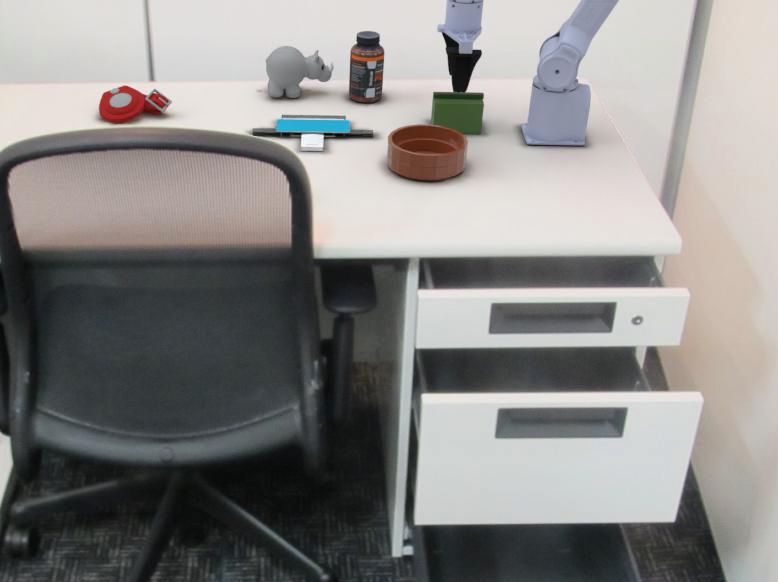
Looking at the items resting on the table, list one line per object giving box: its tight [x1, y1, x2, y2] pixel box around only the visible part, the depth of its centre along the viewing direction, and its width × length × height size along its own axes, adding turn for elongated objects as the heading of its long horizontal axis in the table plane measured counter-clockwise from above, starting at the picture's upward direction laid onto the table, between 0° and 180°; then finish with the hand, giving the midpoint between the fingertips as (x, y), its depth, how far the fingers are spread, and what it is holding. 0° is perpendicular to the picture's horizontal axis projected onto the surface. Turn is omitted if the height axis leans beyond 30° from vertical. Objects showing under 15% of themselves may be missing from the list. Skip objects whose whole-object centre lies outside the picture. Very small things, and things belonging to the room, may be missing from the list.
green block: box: [430, 91, 485, 135], centre depth 186 cm, size 8×5×6 cm, turn 88°
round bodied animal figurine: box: [265, 45, 334, 99], centre depth 198 cm, size 7×12×8 cm, turn 92°
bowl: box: [386, 123, 468, 182], centre depth 174 cm, size 12×12×4 cm
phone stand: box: [251, 114, 374, 152], centre depth 184 cm, size 20×12×2 cm, turn 89°
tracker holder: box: [98, 84, 173, 124], centre depth 192 cm, size 12×4×10 cm
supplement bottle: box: [348, 30, 385, 103], centre depth 196 cm, size 6×6×11 cm
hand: (457, 83), depth 183 cm, fingers open, 7 cm apart
